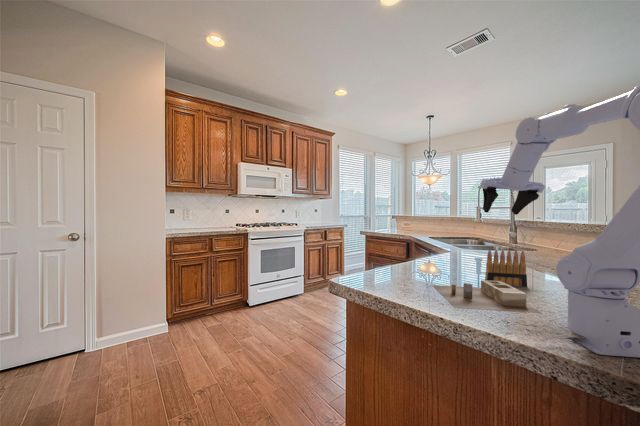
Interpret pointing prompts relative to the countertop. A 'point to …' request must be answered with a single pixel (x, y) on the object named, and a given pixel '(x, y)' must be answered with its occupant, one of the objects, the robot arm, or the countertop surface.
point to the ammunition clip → (506, 269)
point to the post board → (475, 299)
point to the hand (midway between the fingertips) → (499, 211)
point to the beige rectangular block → (503, 293)
